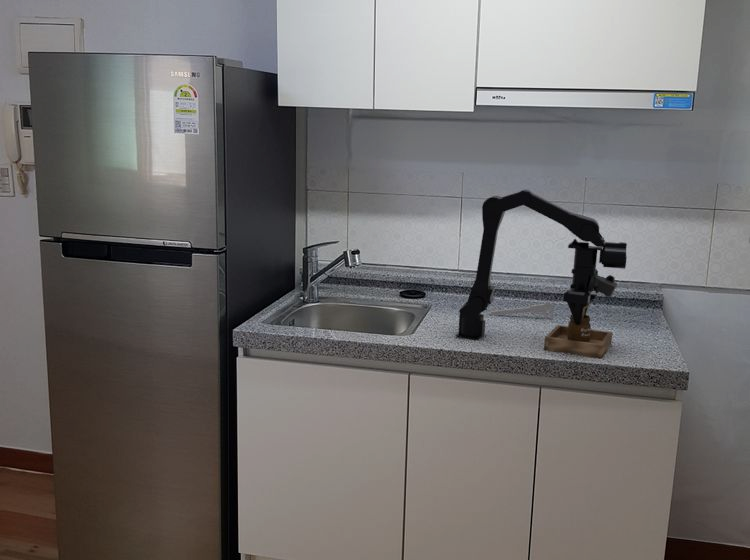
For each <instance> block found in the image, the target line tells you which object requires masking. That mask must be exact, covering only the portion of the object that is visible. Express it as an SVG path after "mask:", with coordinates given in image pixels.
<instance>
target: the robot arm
mask: <svg viewBox="0 0 750 560" xmlns="http://www.w3.org/2000/svg"><path fill="white" fill-rule="evenodd" d="M523 206H525V207H526V208H529V209H531V210H533V211H534V212H537V213H539V214H540V215H542V216H544V217H546V218H548V219H550V220H553V222H554V221H555V222H556V223H558V224H559V225H562V226H563V227H564V228H566V229H567V230H568V231H569V232H570V233H572V234H573V235H574V236H575V237H577V238H578V239H579V240H581V241H578V240H577V238H574V239H573V240H572V241H571V242H570V243H568V246H567V249H573V250H574V257H573V268H572V269H571V274H572V279H571V280H572V281H571V284H570V287H569V289H568V290H567V291H566V292H564V293H563V298H562V299H563V302H566V303H567V305H568V308H569V310H570V313H571V315H572V316H573V319H574V321H575V324H576V325H580V323H581V319H582V315H583V312H584V308H585V306H587V305H588V308H586V309H585V313H584V315H587V312H588V309H589V306H590V304H591V302H592V301H593V300H594V299H596V297H597V296H598V294H599V293H601V294H603V295H604V296H605V297H608V298H611V297H612V296H613V294H614V292H615V291H616V288H617V286H618V282H616V281H615V279H616V278H615V276H613V275H611V274H609V275H608V276H606V277H605V276H601V275H599V270H598V269H597V260H599V261H598V263H599V264H601V265H602V267H603V268H609V269H621V270H622V269H623V270H625V269H626V266H627V259H628V258H627V247H628V245H627V242H625V241H624V242H623V241H622V242H612V241H611V242H609V241H606V240H605V237H603V236H602V233H600V224H599V223H598V221H597V220H596V218H592V217H590V216H586V215H582V214H578V213H575V212H571V211H569V210H566V209H564V208H563V207H561V206H559V205H557V204H556V203H555V204H554V203H553V202H551V201H549V200H547V199H545V198H543V197H541V196H539V195H538V194H536V193H533V192H532V191H531V190H530V189H522V190H520V191H517V192H514V193H512V194H508V195H505V196H500V195H493V196H490V197H488V198H487V199H485V200H484V201H483V203H482V207H481V208H482V209H481V216H482V218H481V219H482V227H483V231H482V237H481V244H480V251H479V255H478V264H477V267H476V268H477V269H476V275H475V280H474V282H473V285H472V287H471V289H470V293H469V294H468V295H469V296H468V298H467V301H466V302H465V303H464V304H463V305H462V306H461V307H460V308H459V310H458V312H459V315H458V333H457V334H456V335H455V336H456V337H458V338H464V339H471V340H477V341H478V340H480V339H481V338H482V337H484V336H485V334H486V320H484V319H485V315H484V314H482V313H483V312H485V311H486V310H487V309H488V307H489V306H490V305H491V304H492V302H493V301H494V300H495V298H494V292H495V291H496V287H497V286H496V285H491V284H492V282H491V278H492V277H491V275H492V270H493V264H494V258H495V252H496V251H495V250H496V245H497V239H498V232H499V229H500V226H501V223H502V222H503V220H504V217H505V213H506V212H507V211H510V210H513V209H516V208H519V207H523ZM589 242H590V243H591V244H593V245H594V246H593V245H590V243H589ZM598 251H599V259H597V258H598ZM593 292H595V293H596V294H595V293H593Z"/></svg>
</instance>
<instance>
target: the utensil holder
mask: <svg viewBox="0 0 750 560" xmlns="http://www.w3.org/2000/svg"><path fill="white" fill-rule="evenodd" d="M586 308H588V309H589V307H588V305H587V306H585V308H584V312H583V315H582V319H581V323H580V325H576V324H575V321H574V319H573V316H572V314H570V317H569V320H570V321H569V322H568V324H567V326H568V334H567V339H568V340H574V341H581V342H589V340H590V331H591V330H592V326H591V323H590V322H591V317H590V316H589V315H587V314H586V315H584V313H585V309H586Z"/></svg>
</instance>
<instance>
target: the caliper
mask: <svg viewBox="0 0 750 560" xmlns="http://www.w3.org/2000/svg"><path fill="white" fill-rule="evenodd" d="M547 311H549V314H550V319H551V320H554V313H555V311H554V305H553V303H551V300H550V299H549V300H548V301H547V300H545V303H540V304H534V305H529V306H528V307H518V308H507V309H499V310H498V309H497V310H491V311H490V312H488V313H487V314H486V315H487V316H493V317H494V316H505V315H507V316H508V315H514V314H515V315H516V314H525V313H530V314H531V315H535V314H539V313H542V315H543V317H544V319H545V320H548V315H547Z"/></svg>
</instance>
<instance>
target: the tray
mask: <svg viewBox="0 0 750 560" xmlns="http://www.w3.org/2000/svg"><path fill="white" fill-rule="evenodd" d="M567 334H568V325H562V324H561V325H560V324H557V325H556V326H555V327H554V328H553V329H552V330H551V331H550V332H549V333H547V335H545V337H544V343H543V350H544V351H548V350H549V351H550V352H555V351H556V352H555V353H561V352H564V353H563V354H568V353H570V354H569V355H574V354H577V355H576V356H581V355H583V357H587V356H589V357H588V358H594V357H595V358H596V359H600V358H602V359H603V357H604V356H605V355H606V353H607V352H608V350H609V349H610V348H611V346H612V340H613V332H611V331H605V330H598V329H591V331H590V340H589V342H581V341H574V340H568V339H567ZM608 348H609V349H608ZM606 351H607V352H606Z"/></svg>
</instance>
